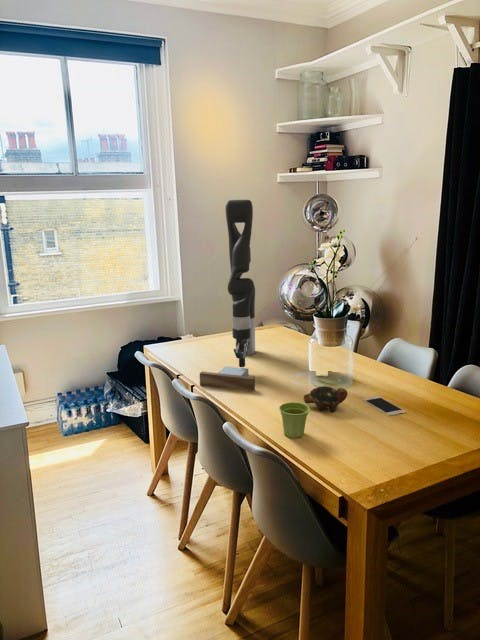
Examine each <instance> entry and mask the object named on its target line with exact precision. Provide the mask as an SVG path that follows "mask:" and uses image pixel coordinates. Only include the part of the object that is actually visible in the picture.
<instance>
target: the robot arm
mask: <svg viewBox="0 0 480 640" xmlns="http://www.w3.org/2000/svg"><path fill="white" fill-rule="evenodd" d="M253 211H254V207H253V202H252V201H251V200H250V199H229V200H227V201H226V203H225V218H226V219H225V220H226V226H227V233H228V235H227V236H228V249H229V250H228V251H229V252H228V253H229V255H228V256H229V263H230V277H229V280H228V283H227V292H228V294H229V295H230V296H231V299H232V301H233V303H232V322H231V323H232V324H231V325H232V330H231V331H232V333H231V334H232V338H233V339H235V348H234V349H233V352H234V355H235V357H236V359H238V368H245V367H246V356H250V355H253V354H255V353H256V318H255V317H256V316H255V315H256V314H255V313H256V311H255V309H256V308H255V304H256V303H255V302H256V286H255V283H254V280H253V279H252V278H250V277H242V276H243V274H245V273H248V272H249V271H250V264H251V260H252V259H251V257H252V256H251V253H252V252H251V247H250V246H251V239H252V229H253V228H252V227H253V217H254V212H253ZM242 223H243V224H244V227H243V229H242V233H241V232H240V231H239V230H238V227H237V225H236V224H242Z"/></svg>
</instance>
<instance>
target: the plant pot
mask: <svg viewBox="0 0 480 640" xmlns="http://www.w3.org/2000/svg"><path fill="white" fill-rule="evenodd" d="M310 409H311V408H310V407H309V405H308V404H306V403H303V402H296V401H290V402H285V403H282V404H280V405H279V407H278V410H279V411H280V415H281V419H282V428H283V434H284V435H286V436H287V438H291V439H296V438H299V437H301V436H302V437H303V436H304V435H305V429H306V427H305V426H306V422H307V417H308V414H309V412H310Z"/></svg>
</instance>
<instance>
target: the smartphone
mask: <svg viewBox="0 0 480 640" xmlns="http://www.w3.org/2000/svg"><path fill="white" fill-rule="evenodd" d="M362 401H363V402H364V401H365V402H364V403H366V402H367V403H369V404H370V405H369V404H368V405H369V406H371V405H372V406H371V407H373V406H374V407H376V408H377V409H376V408H375V409H376V410H378V409H379V410H381V411H382V412H381V411H380V412H381V413H383V412H384V413H386V414H388V415H393V414H397V413H403V412H406V413H407V411H406V410H404V409H403V408H401V407H399V406H398V405H395V404H393V403H392V402H390V401H388V400H386V399H384V398H382V397H380V396H373V397H367V398H362ZM367 403H366V404H367ZM374 407H373V408H374ZM379 410H378V411H379ZM402 410H403V411H402ZM384 413H383V414H384ZM386 414H385V415H386ZM388 415H387V416H388Z"/></svg>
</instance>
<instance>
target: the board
mask: <svg viewBox="0 0 480 640" xmlns="http://www.w3.org/2000/svg"><path fill="white" fill-rule="evenodd" d="M255 383H256V378H255V376H240V375H231V374H222V373H218V372H211V371H200V372H199V386H202V387H203V386H205V387H212V388H221V389H228V390H237V391H245V392H254V391H255V389H256V384H255Z"/></svg>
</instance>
